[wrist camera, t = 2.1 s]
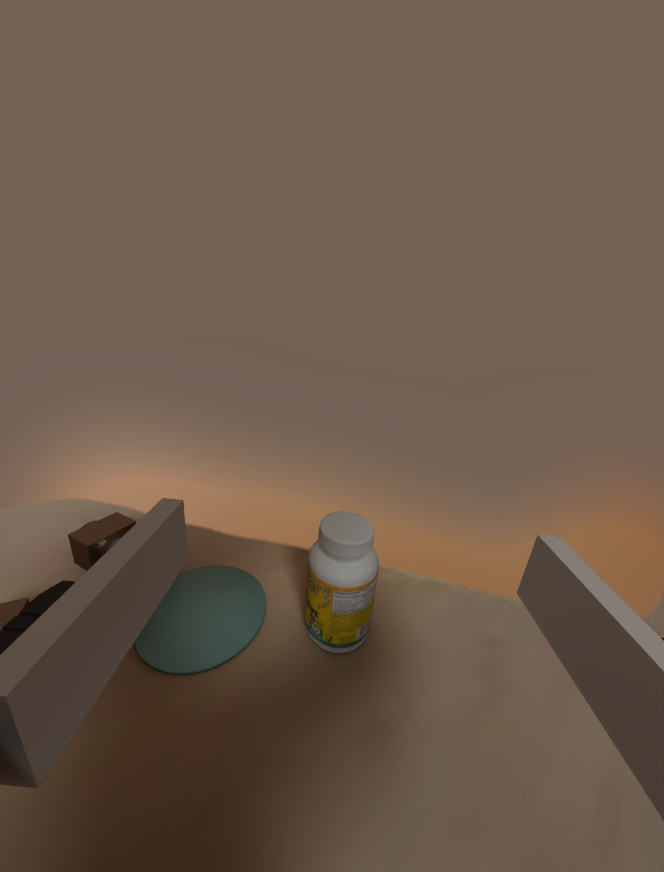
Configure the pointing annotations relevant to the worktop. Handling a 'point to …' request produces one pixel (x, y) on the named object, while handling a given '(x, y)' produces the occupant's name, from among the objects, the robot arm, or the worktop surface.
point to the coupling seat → (202, 621)
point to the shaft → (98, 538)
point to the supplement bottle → (341, 582)
